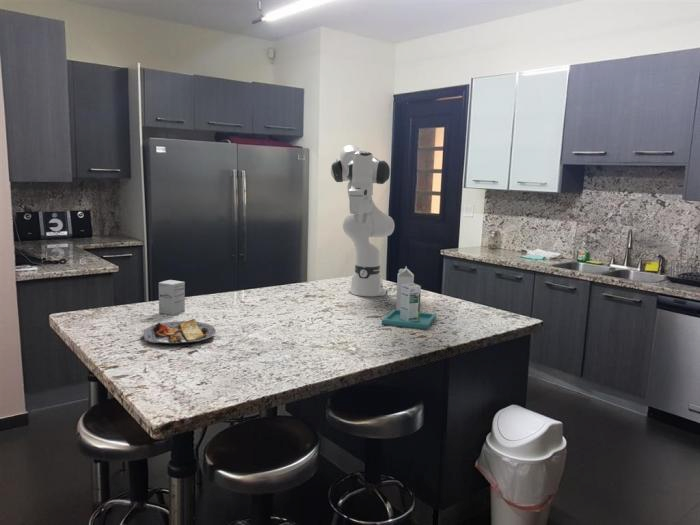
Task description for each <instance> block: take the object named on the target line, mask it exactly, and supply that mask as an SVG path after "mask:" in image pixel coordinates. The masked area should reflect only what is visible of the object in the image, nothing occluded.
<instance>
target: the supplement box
mask: <svg viewBox="0 0 700 525" xmlns="http://www.w3.org/2000/svg"><path fill="white" fill-rule="evenodd" d="M185 285H186V282H185V281H180V280H173V279H168V280H167V279H166V280H163V281H160V282H158V313H159V314H165V315H170V316H177V315H179V314H182V313H184V312H185V310H186V303H185V302H186V301H185V300H186V299H185V298H186V297H185V296H186V295H185V294H186V292H185V291H186V290H185V289H186V288H185V287H186V286H185Z"/></svg>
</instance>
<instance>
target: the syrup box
mask: <svg viewBox="0 0 700 525" xmlns="http://www.w3.org/2000/svg"><path fill="white" fill-rule="evenodd" d="M421 289H422V285H420V284H417V283H414V284H402V285H401V311H400V319H402V320H404V321H406V322H413V321H419V318H420V312H421V293H422V290H421Z"/></svg>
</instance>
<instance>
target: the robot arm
mask: <svg viewBox="0 0 700 525" xmlns="http://www.w3.org/2000/svg"><path fill="white" fill-rule="evenodd" d="M339 156H340V157H339V159H336V160H335V161H334V162H333V163H332V164H331V168H330V175H331V177H332V178H333V180H334V181H335V182H336V183H343V182H347V187H346V188H347V195H348V196H347V197H348V199H349V200H348V201H349V213H350V214H351V215H347V216H346V217H345V218H344V220H343V223H342V229H343V232H344V233H345V235H346V236H347V237H348V238H349V239H351V241H352V242H353V245H354V247H355V259H356V260H355V261H356V262H355V265H354V272H355V273H354V274H353V275H352V276H351V282H350V289H347V292H348V293H350V294H352V295H355V296H359V297H383V296H386V293H387V287H385V286H384V285H383V278H382V275H381V271H380V270H381V264H380V251H379V250H380V249H379V248H378V247H377V246H375V245H374V244H372V243H371V242H370V238H384V237H388V236H391V235H392V234H393V233H394V231H395V226H396V225H395V220H394V219H393V217H391V216H390V215H387V214H386V213H384V212H383V211H381V209H380V208H378V206H376V203H375V202H374V200H373V195H374V193H373V192H374V190H373V189H374V184H377V185H384V184H385V183H387V181H388V180H389V179H390V174H391V169H390V165H389V164H388V163H387V161H385V160H379V159H378V158H376V157H374V155H373V153H372V152H370V151H362V150H361V149H360V148H359V147H357V146H356V145H353V144H348V145H345V146H344V147H343V148H342V149H341V151H340V155H339Z"/></svg>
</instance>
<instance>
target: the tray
mask: <svg viewBox="0 0 700 525" xmlns="http://www.w3.org/2000/svg"><path fill="white" fill-rule="evenodd" d="M400 311H401V310H396V308H395V309H394V308H393V309H392V310H391V311H390V312H389V313H388V314H387V315H385V316H384V317H383V318H382V320H381V325H383V324H385V325H386V326H391V325H392V327H401V328H408V329H415V328H417V329H416V330H425V331H428V330H429V329H430V327H431V326H432V324H434V322H435V320H436V318H437V314H436V313H429V312H421V311H420V318H419V321H413V322H406V321H404V320H402V319H400Z"/></svg>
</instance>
